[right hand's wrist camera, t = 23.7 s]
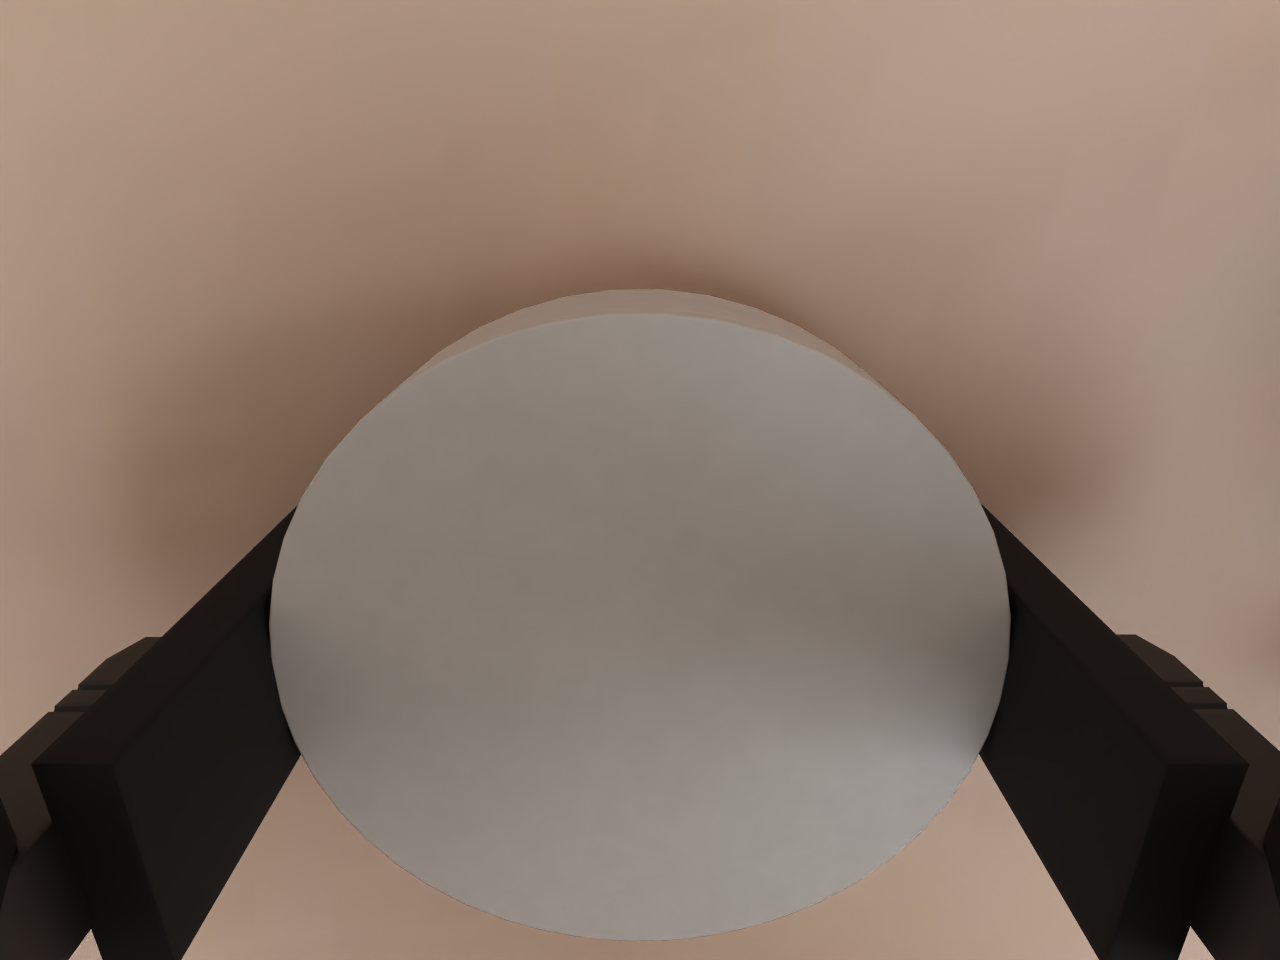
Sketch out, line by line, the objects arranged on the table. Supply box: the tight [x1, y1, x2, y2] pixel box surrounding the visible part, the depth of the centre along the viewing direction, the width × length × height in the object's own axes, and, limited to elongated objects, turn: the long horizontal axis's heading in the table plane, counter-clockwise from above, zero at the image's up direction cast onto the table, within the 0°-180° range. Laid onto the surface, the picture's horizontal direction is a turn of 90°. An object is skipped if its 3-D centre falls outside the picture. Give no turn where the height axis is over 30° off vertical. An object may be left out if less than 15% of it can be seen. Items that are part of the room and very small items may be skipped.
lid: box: [269, 289, 1011, 941], centre depth 11 cm, size 10×10×2 cm
